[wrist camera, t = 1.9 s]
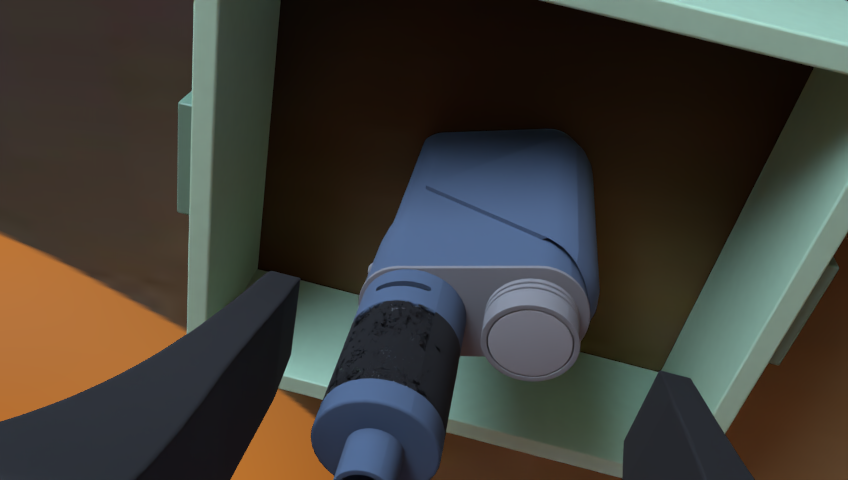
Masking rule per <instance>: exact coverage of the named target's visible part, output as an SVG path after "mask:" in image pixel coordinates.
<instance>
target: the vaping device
mask: <svg viewBox="0 0 848 480" xmlns="http://www.w3.org/2000/svg"><path fill="white" fill-rule="evenodd" d="M599 292H600V287H599V271H598V254H597V237H596V220H595V203H594V186H593V174H592V167H591V164H590V162H589V160H588V158H587V155H586V153H585V152H584V150H583V149H582V148H581V147H580V146H579V145H578V144H577V143H576V142H575V141H574V140H573V139H572V138H571V137H570V136H569V135H567V134H566V133H564V132H562V131H559V130H555V129H527V130H500V131H472V132H445V133H437V134H434V135H432V136H430V137H428V138H427V139H426V140H425V142H424V144H423V147H422V149H421V152H420V155H419V157H418V160H417V162H416V165H415V168H414V170H413V173H412V176H411V178H410V181H409V183H408V186H407V189H406V191H405V194H404V196H403V199H402V202H401V204H400V207H399V209H398V212H397V215H396V217H395V220H394V222H393V223H392V225H391V227H390V228H389V230H388V231H387V233H386V235H385V236H384V238H383V240H382V242H381V244H380V246H379V249H378V251H377V254H376V256H375V259H374V262H373V263H372V264H370V265H369V268H368V277H367V279H366V282H365V283H364V285H363V287H362V289H361V292H360V295H359V302H358V307H359V308H358V310H357V313H356V315H355V318H354V320H353V323H352V326H351V328H350V331H349V333H348V336H347V338H346V341H345V344H344V346H343V349H342V351H341V354H340V357H339V359H338V362H337V364H336V367H335V369H334V372H333V375H332V377H331V380H330V382H329V385H328V387H327V390H326V393H325V397H324V398H323V400H322V403H321V405H320V408H319V411H318V413H317V416H316V418H315V421H314V424H313V426H312V430H311V442H312V447H313V449H314V452H315V454H316V456H317V457H318V459H319V461H320V462H321V463H322V464H323V466H324V467H325V468H326V469H327V470H328V471H329V472H330V473H332V474H333V475H334V479H333V480H430V479H431V478H432V477H433V476H434V475H435V473H436V472H437V470H438V468H439V465H440V461H441V456H442V451H443V446H444V440H445V435H446V429H447V424H448V418H449V413H450V408H451V402H452V397H453V391H454V386H455V380H456V375H457V369H458V364H459V359H460V356H478V357H486V359H487V360H488V362H489V363H490V364H491V365H492V366H493V367H494V368H495V369H497V370H498V371H499V372H501V373H503V374H505V375H506V376H509V377H511V378H514V379H518V380H522V381H531V382H534V381H544V380H549V379H552V378H555V377H558V376H560V375H562V374H563V373H565V372H566V371H567V370H569V369H570V368H571V367H572V366H573V365H574V363H575V361H576V360H577V358H578V355H579V352H580V341H581V340H582V339H583V337H584V335H585V334H586V332H587V329H588V326H589V322H590V321H591V319H592V317H593V315H594V313H595V311H596V307H597V303H598V298H599ZM360 371H361V372H360Z"/></svg>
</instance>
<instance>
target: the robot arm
mask: <svg viewBox="0 0 848 480" xmlns="http://www.w3.org/2000/svg"><path fill="white" fill-rule="evenodd" d="M300 279H301V278H298V277H294V276H290V275H286V274H282V273H278V272H274V271H269V272H267V273H265V274H264V275H263V276H262V277H261V278H259V279H258V280H257V281H256V282H255V283H254V284H252V285H251V286H250V287H249V288H248V289H246V290H245V291H244V292H243V293H242V294H240V295H239V296H238V297H237V298H235V299H234V300H233V301H232V302H230V303H229V304H228V305H226V306H225V307H224V308H223V309H221V310H220V311H218V312H217V313H216V314H214V315H213V316H212V317H210V318H209V319H208V320H206V321H205V322H204V323H202V324H201V325H200V326H198V327H197V328H195V329H194V330H192V331H191V332H189V333H188V334H186V335H185V336H183V337H182V338H180V339H179V340H177V341H176V342H174V343H173V344H171V345H170V346H168V347H167V348H165V349H163V350H162V351H160V352H159V353H157V354H155V355H153V356H152V357H150V358H148V359H147V360H145V361H143V362H141V363H140V364H138V365H136V366H134V367H132V368H130V369H129V370H127V371H125V372H123V373H121V374H119V375H117V376H115V377H113V378H111V379H109V380H107V381H105V382H103V383H101V384H98V385H96V386H94V387H92V388H90V389H87V390H85V391H83V392H81V393H78V394H77V395H74V396H72V397H69V398H67V399H64V400H62V401H59V402H56V403H54V404H51V405H48V406H46V407H43V408H40V409H37V410H34V411H32V412H29V413H26V414H23V415H20V416H17V417H14V418H11V419H8V420H4V421H1V422H0V480H230V479H231V477H232V475H233V474H234V472H235V470H236V468H237V466H238V464H239V462H240V460H241V459H242V457H243V455H244V453H245V451H246V450H247V448H248V446H249V444H250V442H251V440H252V439H253V437H254V435H255V433H256V431H257V429H258V427H259V426H260V424H261V422H262V420H263V418H264V416H265V414H266V412H267V411H268V409H269V407H270V405H271V403H272V401H273V399H274V397H275V394H276V392H277V390H278V387H279V385H280V382H281V380H282V377H283V374H284V372H285V369H286V367H287V364H288V361H289V359H290V356H291V351H292V343H293V335H294V327H295V319H296V311H297V303H298V295H299V287H300ZM622 480H755V479H754V478H753V476H752V475H751V473H750V472H749V471H748V469H747V468H746V466H745V465H744V463H743V462H742V460H741V459H740V457H739V455H738V454H737V452H736V451H735V449H734V448H733V446H732V445H731V443H730V441H729V440H728V438H727V437H726V435H725V434H724V432H723V430H722V429H721V427H720V425H719V424H718V422H717V421H716V419H715V417H714V416H713V414H712V412H711V411H710V409H709V407H708V406H707V404H706V402H705V401H704V399H703V398H702V396H701V394H700V393H699V391H698V389H697V388H696V386H695V385H694V383H693V381H692V380H691V378H688V377H684V376H680V375H676V374H672V373H668V372H664V371H661V370H659V372H658V374H657V376H656V378H655V380H654V382H653V384H652V386H651V388H650V390H649V392H648V394H647V396H646V398H645V400H644V402H643V404H642V406H641V408H640V410H639V412H638V414H637V416H636V418H635V420H634V422H633V424H632V426H631V428H630V430H629V432H628V434H627V436H626V438H625V440H624V447H623V476H622Z"/></svg>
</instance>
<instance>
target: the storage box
mask: <svg viewBox="0 0 848 480" xmlns="http://www.w3.org/2000/svg"><path fill="white" fill-rule="evenodd" d="M540 1H544V2H548V3H553V4H557V5H561V6H565V7H569V8H573V9H577V10H581V11H585V12H590V13H594V14H598V15H602V16H606V17H610V18H614V19H618V20H623V21H627V22H631V23H635V24H639V25H643V26H647V27H651V28H656V29H660V30H664V31H668V32H672V33H676V34H680V35H684V36H689V37H693V38H697V39H701V40H705V41H709V42H713V43H717V44H722V45H726V46H730V47H734V48H738V49H742V50H746V51H750V52H755V53H759V54H763V55H767V56H771V57H775V58H779V59H783V60H788V61H792V62H796V63H800V64H804V65H808V66H812V67H814V68H813V70H812V72H811V74H810V76H809V78H808V80H807V82H806V84H805V86H804V88H803V90H802V92H801V94H800V96H799V98H798V100H797V102H796V104H795V106H794V108H793V110H792V112H791V114H790V116H789V118H788V120H787V122H786V124H785V126H784V128H783V130H782V132H781V134H780V136H779V138H778V140H777V142H776V144H775V146H774V148H773V150H772V152H771V154H770V156H769V158H768V160H767V162H766V164H765V166H764V168H763V170H762V172H761V174H760V176H759V178H758V180H757V182H756V184H755V186H754V188H753V190H752V191H751V193H750V195H749V197H748V199H747V201H746V203H745V205H744V207H743V209H742V211H741V213H740V215H739V217H738V219H737V221H736V223H735V225H734V227H733V229H732V231H731V233H730V235H729V237H728V239H727V241H726V243H725V245H724V247H723V249H722V251H721V253H720V255H719V257H718V259H717V261H716V263H715V265H714V267H713V269H712V271H711V273H710V275H709V277H708V279H707V281H706V283H705V285H704V287H703V289H702V291H701V293H700V295H699V297H698V299H697V301H696V303H695V305H694V307H693V309H692V311H691V312H690V314H689V316H688V318H687V320H686V322H685V324H684V326H683V328H682V330H681V332H680V334H679V336H678V338H677V340H676V342H675V344H674V346H673V348H672V350H671V352H670V354H669V356H668V358H667V360H666V362H665V364H664V366H663V368H662V370H661V371H664V372H668V373H672V374H676V375H680V376H684V377H688V378H691V380H692V381H693V383H694V385H695V386H696V388H697V389H698V391H699V393H700V394H701V396H702V398H703V399H704V401H705V402H706V404H707V406H708V407H709V409H710V411H711V412H712V414H713V416H714V417H715V419H716V421H717V422H718V424H719V425H720V427H721V429H722V430H723V432H724V434H725V433H726V432H727V430H728V428H729V427H730V425H731V423H732V422H733V420H734V419H735V417H736V415H737V414H738V412H739V410H740V409H741V407H742V405H743V404H744V402H745V400H746V399H747V397H748V395H749V394H750V392H751V391H752V389H753V387H754V386H755V384H756V382H757V381H758V379H759V377H760V376H761V374H762V372H763V371H764V369H765V368H766V366H767V364H768V363H770V364H774V365H780V363H781V362H782V360H783V358H784V357H785V355H786V354H787V352H788V350H789V349H790V347H791V346H792V344H793V342H794V341H795V339H796V338H797V336H798V334H799V333H800V331H801V329H802V328H803V326H804V325H805V323H806V321H807V320H808V318H809V317H810V315H811V313H812V312H813V310H814V309H815V307H816V305H817V304H818V302H819V300H820V299H821V297H822V296H823V294H824V292H825V291H826V289H827V288H828V286H829V284H830V283H831V281H832V280H833V278H834V276H835V275H836V273H837V271H838V270H839V266H838V265H837V263H836V261H835V259H834V257H833V256H834V254H835V252H836V251H837V249H838V248H839V246H840V244H841V243H842V241H843V239H844V238H845V236H846V234H847V233H848V1H845V0H540ZM280 2H281V0H194V20H193V67H192V91H191V92H190V93H189V94H188V95H186V96H185V97H184V98H183V99H182V100H181V101H179V103H178V182H177V211H178V212H179V213H183V214H187V215H189V255H188V302H187V334H188V333H189V332H191V331H192V330H194V329H195V328H197V327H198V326H200V325H201V324H202V323H204V322H205V321H206V320H208V319H209V318H210V317H212V316H213V315H214V314H216V313H217V312H218V311H220V310H221V309H223V308H224V307H225V306H226V305H228V304H229V303H230V302H232V301H233V300H234V299H235V298H237V297H238V296H239V295H240V294H242V293H243V292H244V291H245V290H246V289H248V288H249V287H250V286H251V285H252V284H254V283H255V282H256V281H257V280H258V279H259V278H261V277H262V276H263V275H264V274H265V273H267V271H263V270H259V269H258V260H259V248H260V237H261V225H262V213H263V202H264V190H265V178H266V166H267V155H268V143H269V131H270V120H271V108H272V96H273V84H274V73H275V61H276V49H277V38H278V26H279V14H280ZM358 302H359V295H356V294H352V293H349V292H345V291H341V290H337V289H333V288H329V287H325V286H321V285H317V284H314V283H310V282H306V281H302V280H300V287H299V295H298V303H297V311H296V319H295V327H294V335H293V343H292V351H291V356H290V359H289V361H288V364H287V367H286V369H285V372H284V374H283V377H282V380H281V382H280V385H279V387H278V388H280V389H283V390H287V391H291V392H295V393H299V394H302V395H306V396H310V397H314V398H318V399H322V400H323V398H324V397H325V393H326V390H327V387H328V385H329V382H330V380H331V377H332V375H333V372H334V369H335V367H336V364H337V362H338V359H339V357H340V354H341V351H342V349H343V346H344V344H345V341H346V338H347V336H348V333H349V331H350V328H351V326H352V323H353V320H354V318H355V315H356V313H357V310H358V308H359V307H358ZM360 372H361V371H360ZM657 374H658V372H656V371H652V370H648V369H644V368H640V367H636V366H632V365H629V364H625V363H621V362H617V361H613V360H609V359H605V358H601V357H597V356H594V355H590V354H586V353H582V352H579V355H578V358H577V360H576V361H575V363H574V365H573V366H572V367H571V368H570V369H569V370H567V371H566V372H565V373H563V374H562V375H560V376H558V377H555V378H552V379H549V380H544V381H534V382H531V381H522V380H518V379H514V378H511V377H509V376H506V375H505V374H503V373H501V372H499V371H498V370H497V369H495V368H494V367H493V366H492V365H491V364H490V363H489V362H488V360H487V359H486V357H478V356H460V359H459V364H458V369H457V375H456V380H455V386H454V391H453V397H452V402H451V408H450V413H449V418H448V424H447V429H446V432H447V433H451V434H455V435H459V436H463V437H467V438H470V439H474V440H478V441H482V442H486V443H489V444H493V445H497V446H501V447H505V448H509V449H512V450H516V451H520V452H524V453H528V454H531V455H535V456H539V457H543V458H547V459H550V460H554V461H558V462H562V463H566V464H570V465H573V466H577V467H581V468H585V469H589V470H592V471H596V472H600V473H604V474H608V475H612V476H615V477H619V478H622V476H623V447H624V440H625V438H626V436H627V434H628V432H629V430H630V428H631V426H632V424H633V422H634V420H635V418H636V416H637V414H638V412H639V410H640V408H641V406H642V404H643V402H644V400H645V398H646V396H647V394H648V392H649V390H650V388H651V386H652V384H653V382H654V380H655V378H656V376H657Z"/></svg>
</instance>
